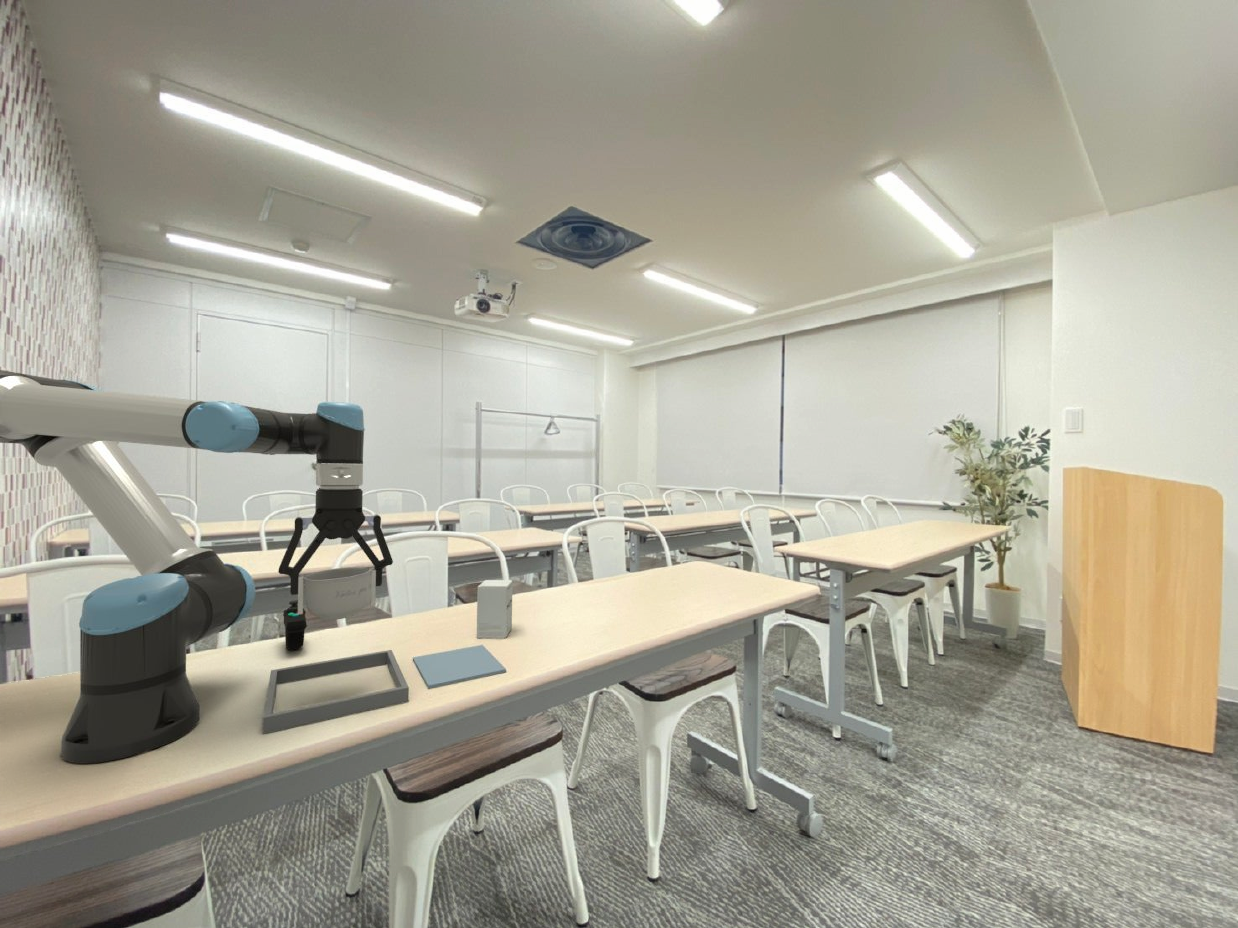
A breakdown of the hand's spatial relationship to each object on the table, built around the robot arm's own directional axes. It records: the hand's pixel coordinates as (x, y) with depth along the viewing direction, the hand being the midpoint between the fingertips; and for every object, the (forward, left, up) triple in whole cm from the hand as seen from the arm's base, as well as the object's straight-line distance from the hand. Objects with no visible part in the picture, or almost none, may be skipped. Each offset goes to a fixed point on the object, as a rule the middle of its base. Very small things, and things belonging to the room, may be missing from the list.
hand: (337, 607), depth 92 cm
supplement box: (+35, +17, -16) cm, 42 cm away
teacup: (+1, 0, -1) cm, 2 cm away
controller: (-7, +29, -16) cm, 34 cm away
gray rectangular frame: (0, 0, -15) cm, 15 cm away
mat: (+22, +1, -15) cm, 27 cm away
